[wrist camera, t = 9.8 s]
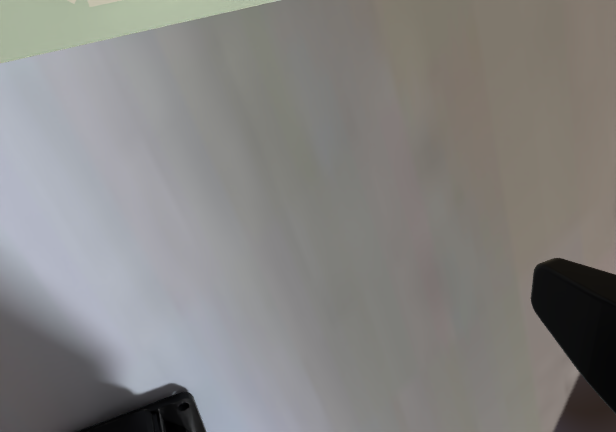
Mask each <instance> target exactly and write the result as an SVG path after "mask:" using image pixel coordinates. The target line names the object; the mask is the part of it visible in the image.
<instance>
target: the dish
mask: <svg viewBox="0 0 616 432" xmlns="http://www.w3.org/2000/svg"><path fill="white" fill-rule="evenodd" d="M68 1H69V2H71V3H73V4H75V2H76V0H68ZM87 1H88V4H89V7H93V6H98V5H103V4H108V3H112V2H117V1H122V0H87Z"/></svg>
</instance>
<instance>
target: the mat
mask: <svg viewBox="0 0 616 432" xmlns="http://www.w3.org/2000/svg"><path fill="white" fill-rule="evenodd" d="M274 1H279V0H122V1H117V2H112V3H108V4H103V5H98V6H93V7H89V4H88V1H87V0H76V2H75V4H73V3H71V2H69V1H68V0H0V63H4V62H9V61H13V60H18V59H22V58H26V57H31V56H35V55H40V54H44V53H49V52H53V51H57V50H62V49H66V48H71V47H75V46H80V45H84V44H88V43H93V42H97V41H102V40H106V39H111V38H115V37H119V36H124V35H128V34H133V33H137V32H142V31H146V30H150V29H155V28H159V27H164V26H168V25H173V24H177V23H181V22H186V21H190V20H195V19H199V18H204V17H208V16H212V15H217V14H221V13H226V12H230V11H234V10H239V9H243V8H248V7H252V6H257V5H261V4H265V3H270V2H274Z"/></svg>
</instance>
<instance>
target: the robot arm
mask: <svg viewBox="0 0 616 432" xmlns="http://www.w3.org/2000/svg"><path fill="white" fill-rule="evenodd" d="M531 303H532V306H533V309H534V311H535V312H536V314H537V315H538V317H539V318H540V319H541V321H542V322H543V323H544V325H545V326H546V328H547V329H548V330H549V332H550V333H551V334H552V336H553V337H554V338H555V340H556V341H557V342H558V344H559V345H560V347H561V348H562V349H563V351H564V352H565V353H566V355H567V356H568V357H569V359H570V360H571V361H572V363H573V364H574V366H575V367H576V368H577V370H578V371H579V372H580V373H581V375H582V376H583V377H584V379H585V380H586V381H587V382H588V383H589V385H590V386H591V387H592V388H593V389H594V390H595V391H596V393H597V394H598V395H599V396H600V397H601V398H602V399H603V400H604V402H605V403H606V404H607V405H608V406H609V407H610V408H611V409H612V410H613V412H614V413H615V414H616V275H615V274H612V273H608V272H605V271H602V270H598V269H595V268H592V267H588V266H585V265H582V264H578V263H575V262H572V261H568V260H565V259H561V258H553V259H551V260H548V261H545V262H543V263H540V264H538V265H537V266H536V267H535V269H534V274H533V284H532V293H531ZM182 403H185V404H182ZM181 404H182V405H181ZM79 432H206V429H205V427H204V424H203V421H202V419H201V416H200V413H199V411H198V408H197V405H196V403H195V400H194V397H193V396H192V394H190V393H188V392H183V393H179V394H176V395H174V396H171V397H168V398H166V399H163V400H160V401H158V402H155V403H153V404H150V405H147V406H145V407H142V408H139V409H137V410H134V411H131V412H129V413H126V414H123V415H121V416H118V417H116V418H113V419H110V420H108V421H105V422H102V423H100V424H97V425H94V426H92V427H89V428H86V429H84V430H81V431H79Z"/></svg>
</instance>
